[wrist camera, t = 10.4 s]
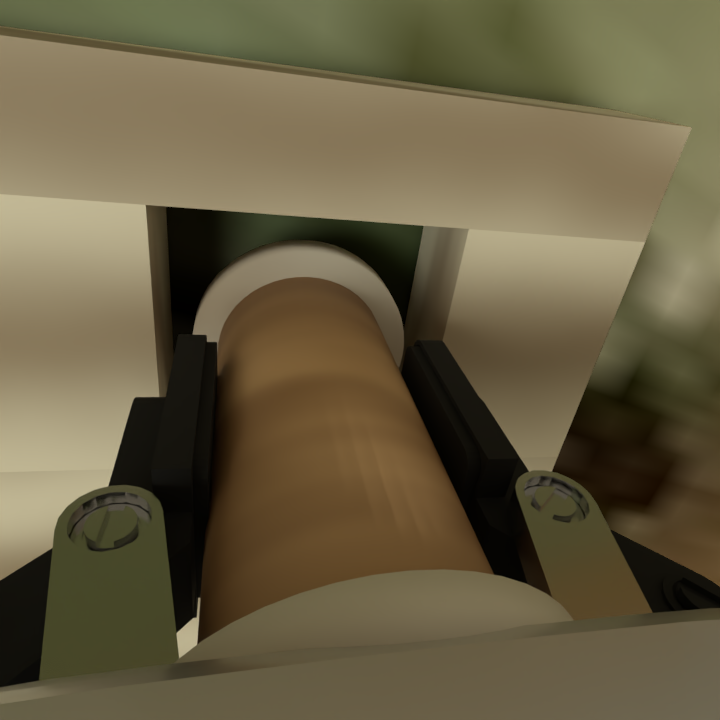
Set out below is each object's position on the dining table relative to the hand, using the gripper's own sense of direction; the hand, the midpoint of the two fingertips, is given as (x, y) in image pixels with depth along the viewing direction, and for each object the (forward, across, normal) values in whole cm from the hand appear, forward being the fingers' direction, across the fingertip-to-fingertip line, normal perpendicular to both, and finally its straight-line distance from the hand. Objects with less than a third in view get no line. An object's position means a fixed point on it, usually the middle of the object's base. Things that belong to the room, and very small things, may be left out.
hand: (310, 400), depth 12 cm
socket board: (+5, 0, +3) cm, 6 cm away
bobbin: (+3, 0, 0) cm, 3 cm away
